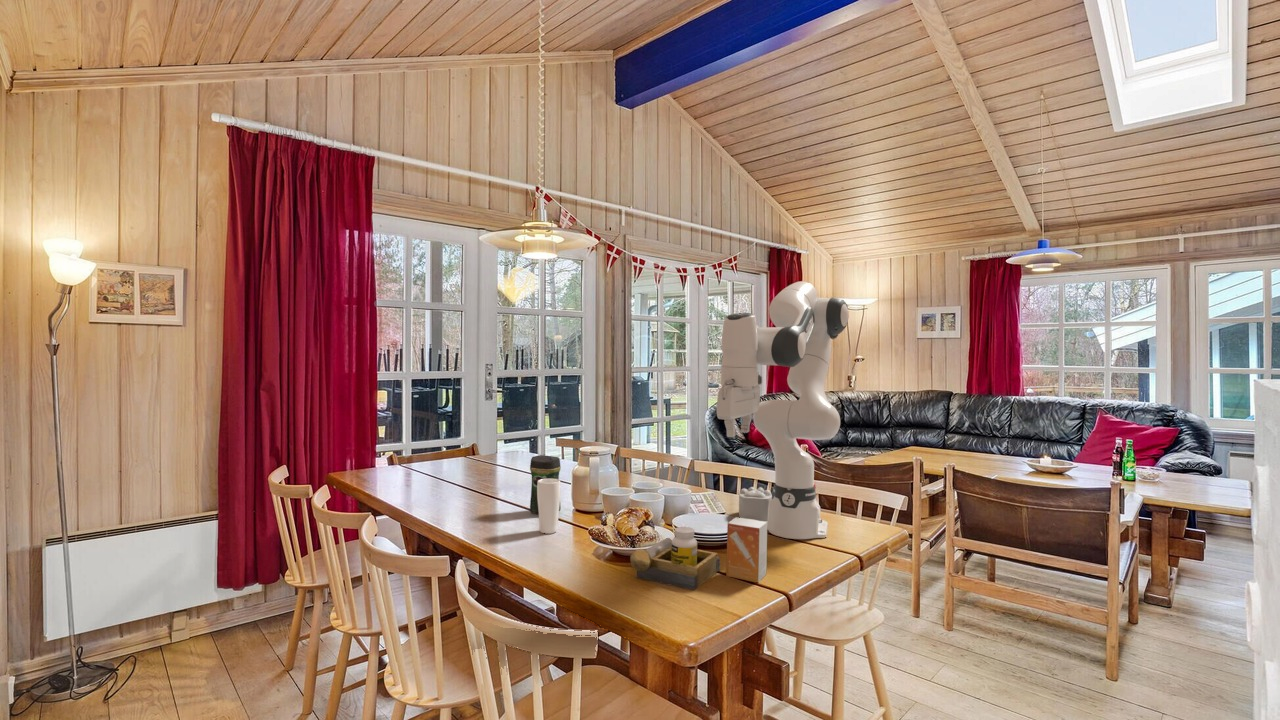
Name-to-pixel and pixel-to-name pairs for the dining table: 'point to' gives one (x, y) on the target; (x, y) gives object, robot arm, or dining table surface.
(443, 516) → the dining table surface
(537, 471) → the coffee jar
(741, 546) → the small box
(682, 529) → the pill bottle
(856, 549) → the dining table surface
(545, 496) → the drinking glass
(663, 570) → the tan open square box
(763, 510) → the lumpy-topped squat cylinder
